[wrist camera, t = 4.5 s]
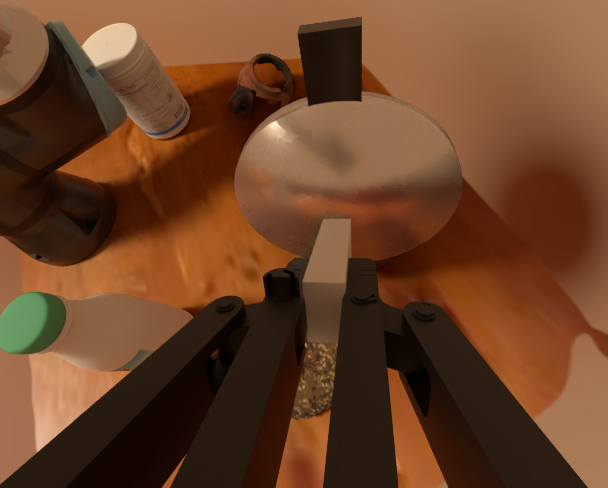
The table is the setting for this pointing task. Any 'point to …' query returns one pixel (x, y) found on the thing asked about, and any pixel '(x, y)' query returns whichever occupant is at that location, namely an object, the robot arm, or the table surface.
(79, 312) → the milk bottle
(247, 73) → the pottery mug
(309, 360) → the speckled stone
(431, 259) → the table surface
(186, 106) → the supplement tub
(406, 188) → the lid
